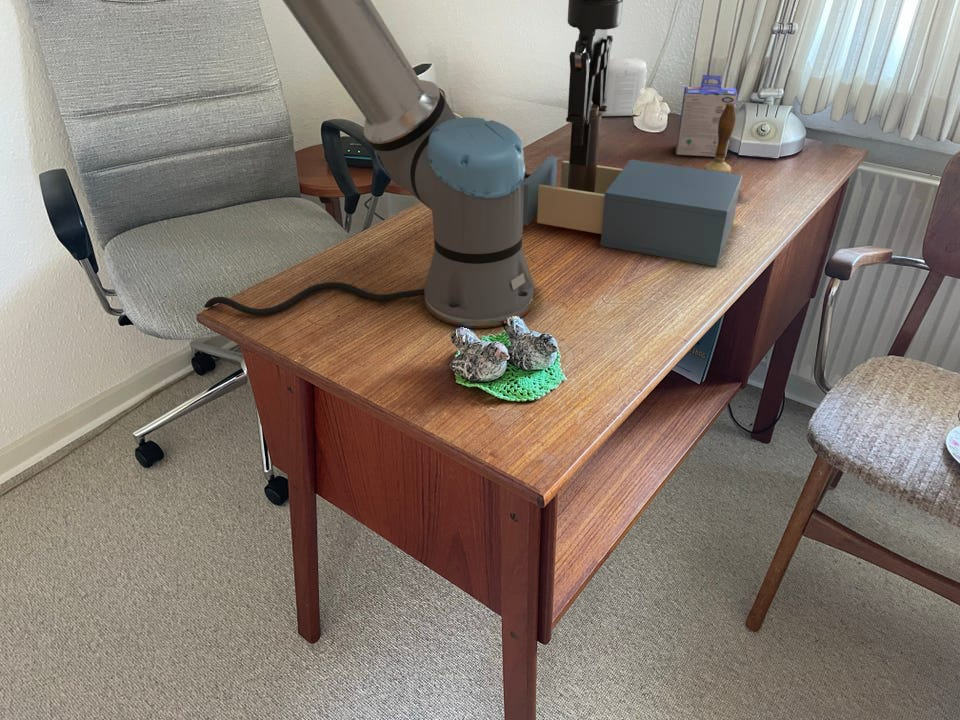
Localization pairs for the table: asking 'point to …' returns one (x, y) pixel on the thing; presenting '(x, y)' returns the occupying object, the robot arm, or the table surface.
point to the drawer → (565, 198)
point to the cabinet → (670, 211)
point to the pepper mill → (586, 175)
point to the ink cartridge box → (702, 117)
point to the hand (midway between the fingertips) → (583, 158)
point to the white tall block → (624, 85)
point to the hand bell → (723, 139)
